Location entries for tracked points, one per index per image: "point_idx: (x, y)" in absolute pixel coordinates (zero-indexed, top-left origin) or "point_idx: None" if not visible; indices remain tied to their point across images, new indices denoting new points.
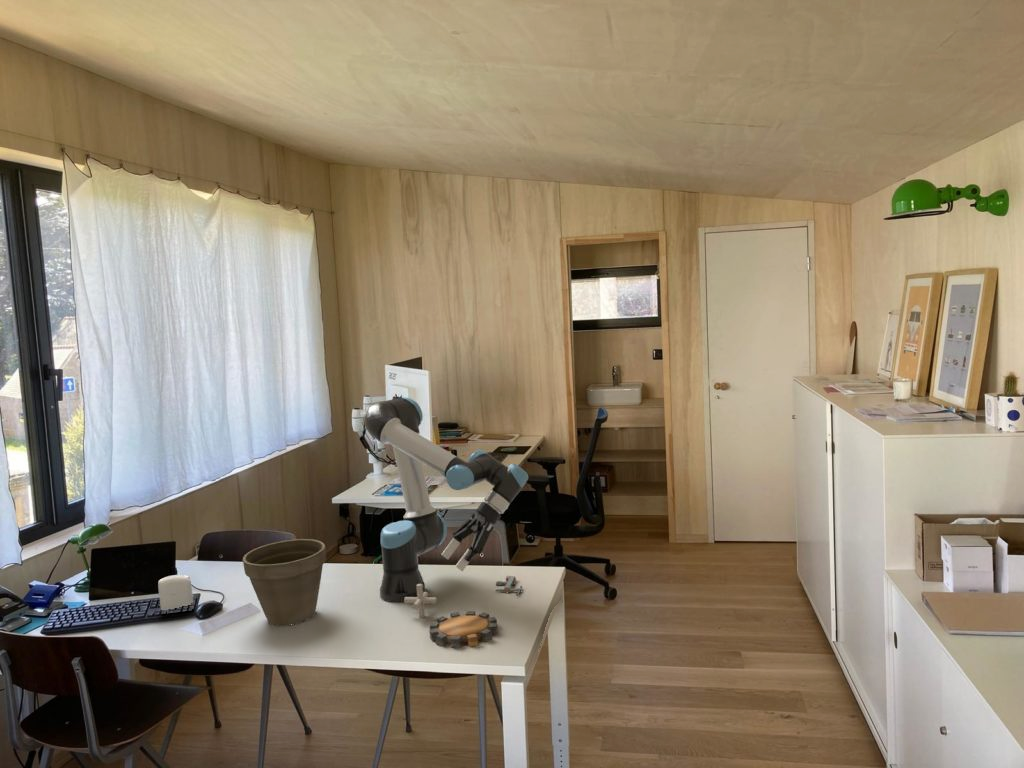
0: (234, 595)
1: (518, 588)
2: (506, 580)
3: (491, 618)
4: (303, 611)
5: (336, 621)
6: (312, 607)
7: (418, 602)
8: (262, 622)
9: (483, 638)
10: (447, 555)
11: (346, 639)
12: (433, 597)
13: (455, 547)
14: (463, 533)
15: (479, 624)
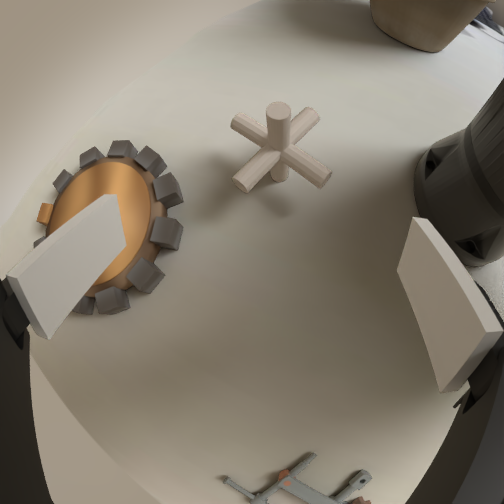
0: (497, 43)
1: (259, 501)
2: (360, 500)
3: None
4: (376, 11)
5: (358, 50)
6: (391, 22)
7: (245, 127)
8: None
9: None
10: (408, 263)
11: (258, 41)
12: (247, 175)
13: (431, 336)
14: (454, 468)
15: None
